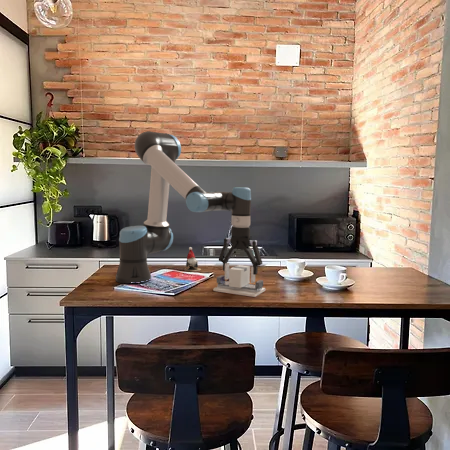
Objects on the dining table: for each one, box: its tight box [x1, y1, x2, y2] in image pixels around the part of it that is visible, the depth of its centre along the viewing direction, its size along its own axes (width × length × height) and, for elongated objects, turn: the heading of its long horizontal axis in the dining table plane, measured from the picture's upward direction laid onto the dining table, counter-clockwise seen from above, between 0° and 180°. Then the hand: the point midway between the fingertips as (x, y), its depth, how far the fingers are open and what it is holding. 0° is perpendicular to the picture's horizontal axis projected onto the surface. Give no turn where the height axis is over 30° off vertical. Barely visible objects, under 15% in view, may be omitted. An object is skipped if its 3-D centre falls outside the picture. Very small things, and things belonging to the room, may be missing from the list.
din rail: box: [216, 274, 264, 293], centre depth 172 cm, size 19×6×4 cm, turn 63°
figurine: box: [185, 246, 202, 272], centre depth 211 cm, size 8×10×12 cm
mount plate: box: [213, 286, 266, 298], centre depth 172 cm, size 18×11×1 cm, turn 63°
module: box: [228, 264, 251, 288], centre depth 172 cm, size 5×9×7 cm, turn 154°
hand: (239, 280), depth 172 cm, fingers open, 11 cm apart
